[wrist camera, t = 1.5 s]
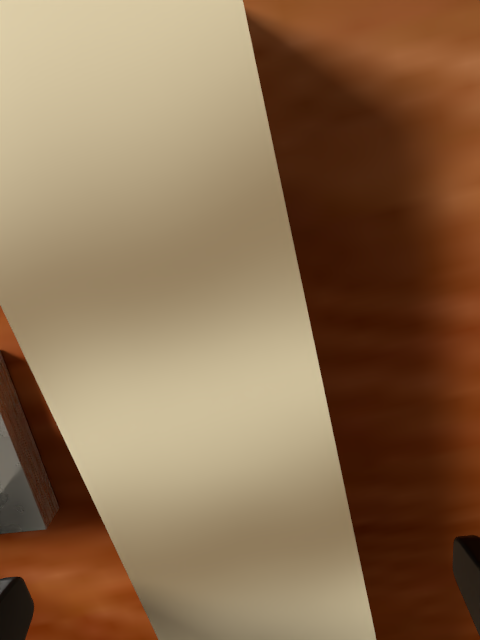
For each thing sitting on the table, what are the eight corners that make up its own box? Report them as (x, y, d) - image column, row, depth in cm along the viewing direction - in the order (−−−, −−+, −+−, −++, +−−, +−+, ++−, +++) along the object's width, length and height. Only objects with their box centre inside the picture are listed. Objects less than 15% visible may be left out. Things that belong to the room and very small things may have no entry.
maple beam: (359, 617, 17) (416, 832, 11) (253, 632, 17) (256, 846, 12) (222, 3, 10) (184, -282, 4) (50, 59, 10) (-201, -122, 4)
